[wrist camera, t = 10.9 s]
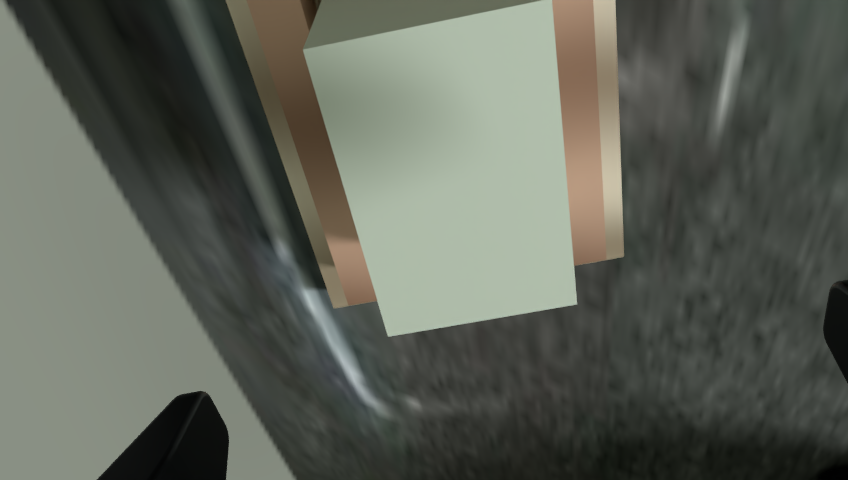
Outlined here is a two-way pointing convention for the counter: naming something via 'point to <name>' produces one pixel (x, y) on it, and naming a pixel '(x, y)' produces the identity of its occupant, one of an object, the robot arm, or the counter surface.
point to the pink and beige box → (317, 169)
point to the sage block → (449, 154)
